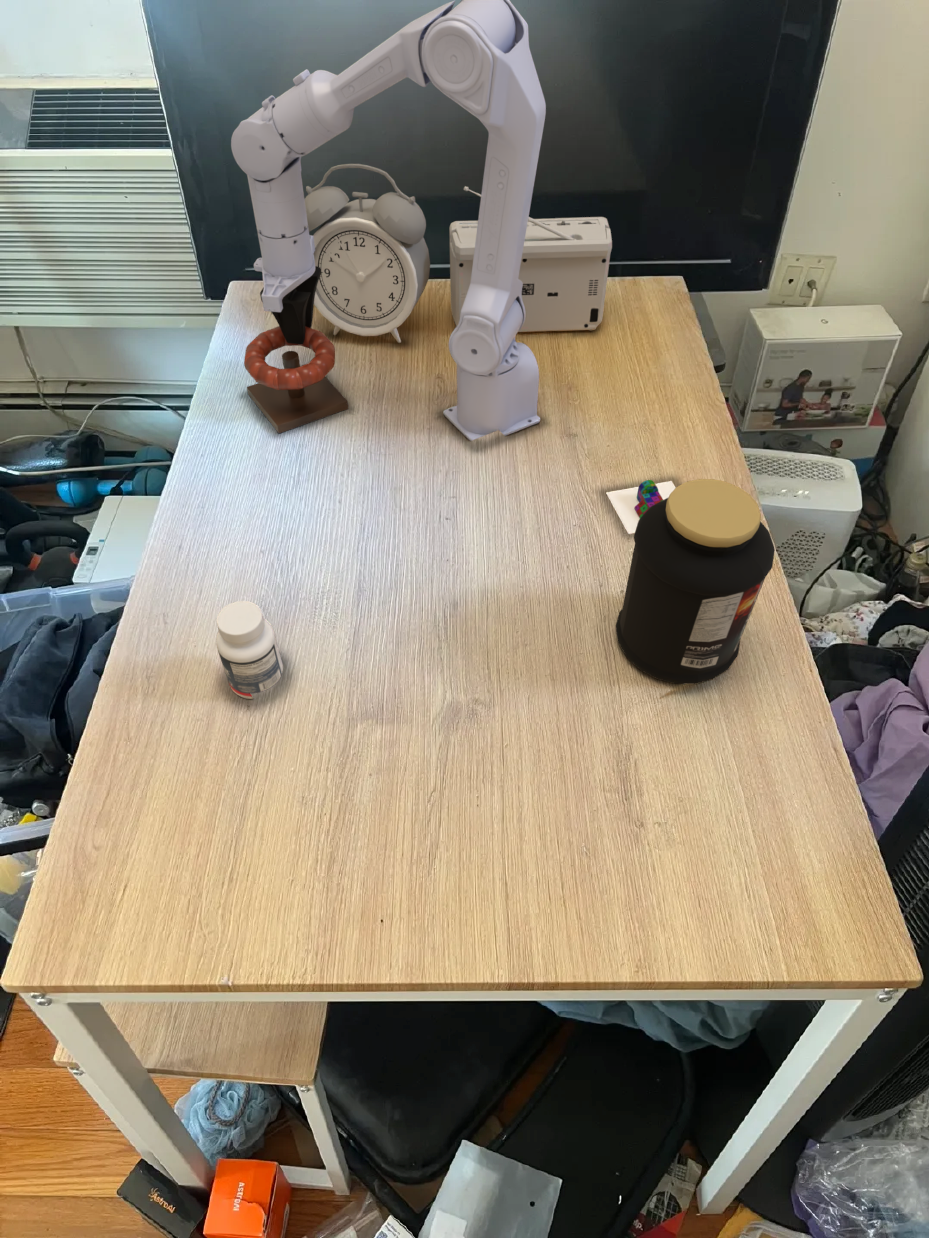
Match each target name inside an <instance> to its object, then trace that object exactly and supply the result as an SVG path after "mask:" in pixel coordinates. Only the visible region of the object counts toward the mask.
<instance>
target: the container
mask: <svg viewBox="0 0 929 1238" xmlns="http://www.w3.org/2000/svg"><path fill="white" fill-rule="evenodd" d="M675 487H676V488H675V489H674V490H673V491H672V493H671V494H670V495H669V497H668V498H666V499H664V500H662V501H661V502H659V503H657V504H655V505H653V506H651V507H650V508H649V509H648V510H647V511H646V512H645V513H644V515H643V516H642V517H641V518H640V519H639V521H638V524H637V527H636V531H635V533H633V540H634V547H633V552H632V557H631V562H630V567H629V572H628V578H627V583H626V588H625V593H624V598H623V604H622V609H620V611H619V613H618V616H617V618H616V624H615V632H616V638H617V643H618V645H619V647H620V649H621V650H622V652H623V653H624V655H625V657H626V659H627V660H628V661H629V662H631V664H632V665H634V666H635V667H636V668H637V669H638V670H639V671H641V672H642V673H644V674H647V675H648V676H651V677H652V678H654V679H656V680H657V681H658V680H659V681H663V682H667V683H670V684H675V685H697V684H701V683H705V682H709V681H713V680H714V679H716V678H718V677H719V676H721V675H723V674H724V673H725V672H727V671H728V670H730V668H731V666H732V665H733V664H734V662H735V661H736V659H737V658H738V656H739V651H740V646H741V640H742V637H743V634H744V632H745V630H746V627H747V624H748V623H749V619H750V617H751V614H752V612H753V609H754V607H755V604H756V602H757V600H758V597H759V595H760V592H761V589H762V587H763V584H764V582H765V580H766V577H768V575H769V574H770V572H771V571H772V569H773V566H774V557H775V544H774V542H773V539H772V536H771V533H770V531H769V530H768V528H767V527H766V526H765V525H764V524H763V522H762V513H761V511H760V508H759V505H758V502H757V501H756V500H755V499H754V498H753V497H752V495H751V494H750V493H748V492H747V491H745V490H744V489H742V488H741V487H740V486H737V485H735V484H732V483H730V482H728V481H725V480H721V479H714V478H697V479H693V480H688V481H685V482H683V483H681V484H679V485H678V486H675Z"/></svg>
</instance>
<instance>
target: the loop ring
mask: <svg viewBox="0 0 929 1238" xmlns="http://www.w3.org/2000/svg"><path fill="white" fill-rule="evenodd" d="M296 346H297V347H298V346H300V347H304V348H307V349H310V350H311V351H312V352H313V353H314V357H313V358H312V359H311V360H310V362H308V363H305V364H303V365H300V367H298V368H291V369H284V368H279V367H275V366H272V365H270V364H268V362H266V357H268V355H270V353H271V352H273V351H276V350H278V349H280V348H284V347H296ZM335 364H336V347H335V345H334V343H333V342H332V341H331V340H330V339H329V337H327V336H326V335H325V333H323V332H322V331H321V330H318V329H315V328H312V327H311V328H309V327H306V326H305V340H304V343H303V344H292V343H287V341H286V339H285V337H284V335H283V333H282V331H281V329H280V326H279V325H278V326H275V327H273V328H271V329H267V330H265V331H262V332H260V333H259V334H257V336H255V338H253V339H252V340H251V341H250V342H249V343H248V345H246V347H245V351H244V361H243V366H244V369H245V370H246V371H247V373H248V374H249V375H250V376H251V378H252V379H253V380H254V381H255V383H256V384H257V383H259V384H262V385H265V386H267V387H270V388H273V389H276V390H293V389H302V388H305V387H307V386H310V385H312V384H315V383H317V382H320V381H321V380H322V379H323V378H324V377H326V376H327V375H328V374H329V373H330V372H331V371H332V370H333V368H334V367H335Z"/></svg>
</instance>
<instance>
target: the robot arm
mask: <svg viewBox="0 0 929 1238" xmlns="http://www.w3.org/2000/svg"><path fill="white" fill-rule="evenodd" d="M455 3H456V0H452V1H450V2H447V3H444V4H442V5H441V6H438V7H437V8H435V9H433V10H431V11H429V12H427V13H424V14H423V15H422V16H420V17H417V18H415V19H414V20H412V21H410V22H408V23H407V24H406V25H404V26H403V27H402V28H401V29H399V30H397V32H395V33H394V34H392V35H391V36H389V37H388V38H387V39H385V40H384V41H382V42H381V43H380V44H378V45H377V46H376V47H374V48H373V49H372V50H370V51H369V52H367V53H366V54H364V55H363V56H362V57H360V58H359V59H358V60H357V61H355V62H354V63H353V64H351V65H350V66H348V67H347V68H346V69H344V70H342V71H341V72H340V73H338V74H335V73H333V72H330V71H328V70H324V69H317V70H315V71H313V72H312V73H310V71H309V69H305V70H303V71H302V72H300V73H299V74H297V75H296V76H294V77H293V79H292V82H293V83H294V86H292V87H290V88H289V89H287V90H286V91H285V92H283V93H282V94H280V95H279V96H277V97H275V95H269V96H268V97H267V98H265V99H264V100H263V101H262V102H261V106H262V107H261V108H259V109H258V110H256V112H254V113H253V114H251V115H250V116H248V117H247V118H246V119H244V120H241V121H240V122H239V124H238V126H237V127H236V128H235V129H234V131H233V132H232V135H231V138H230V139H231V140H230V148H231V153H232V156H233V158H234V161H235V162H236V164H237V166H238V167H239V168H240V169H241V170H242V172H244V173H245V174H246V176H247V182H248V188H249V194H250V198H251V204H252V209H253V216H254V221H255V226H256V232H257V238H258V243H259V248H260V254H261V257H257V259H256V260H255V262H254V263H253V270H254V271H255V272H261V273H262V284H263V287H262V288H261V290H260V292H259V296H260V300H261V303H262V307H263V311H264V312H269V313H271V314H272V315H273V317H274V319H275V321H276V322H277V325H278V326H280V329H281V331H282V333H283V335H284V337H285V339H286V341H287V343H292V344H303V343H304V340H305V326H306V327H309V328H312V326H313V318H314V307H315V305H314V298H315V292H316V287H317V284H318V281H319V278H320V275H321V269H320V268H319V267H317V266H315V261H314V255H313V253H314V252H315V245H314V237H313V235H314V234H313V235H312V234H310V232H309V229H308V222H307V214H306V207H305V192H304V186H303V179H302V178H303V177H302V171H303V170H302V164H301V163H302V161H301V160H302V158H303V157H304V156H307V155H309V154H310V153H311V152H313V151H315V150H316V149H318V148H319V147H321V146H323V145H324V144H326V143H327V142H330V141H331V140H332V139H334V138H336V137H337V136H338V135H340V134H342V133H344V132H345V131H347V130H348V129H350V127H351V126H352V123H353V118H354V111H355V108H357V107H358V106H360V105H361V104H364V103H365V102H366V101H368V100H370V99H372V98H373V97H375V96H377V95H379V94H380V93H382V92H383V91H386V90H387V89H389V88H391V87H392V86H394V85H396V84H397V83H399V82H401V81H403V80H404V79H409V80H410V81H412V82H414V83H416V84H417V85H419V86H420V87H423V88H426V87H427V86H428V85H429V84H432V85H433V86H434V87H435V88H436V89H437V90H438V91H440V92H441V93H442V94H443V95H444V96H446V97H447V98H449V99H450V100H452V101H453V102H454V103H456V104H457V105H459V106H460V107H461V108H462V109H464V110H465V111H467V112H468V113H470V114H471V115H472V116H474V117H475V118H477V119H478V120H479V121H480V123H481V124H482V125H483V126H484V127H485V129H486V131H487V132H488V138H487V145H486V154H485V160H484V161H485V162H484V170H483V176H482V178H483V179H482V186H481V193H480V194H481V197H480V202H479V210H478V219H477V221H478V226H477V234H476V242H475V250H474V258H473V266H472V274H471V282H470V286H469V289H468V292H467V295H466V298H465V300H464V303H463V306H462V309H461V314H460V321H459V324H458V325H457V327H456V326H455V328H454V329H453V331H452V332H451V333H450V334H449V338H448V351H449V354H450V356H451V358H452V360H453V361H454V363H455V364H456V405H454V406H451V407H449V408H445V409H444V410H443V413H442V414H443V416H444V417H445V418H446V419H447V421H449V422H450V423H451V424H452V425H454V427H455V428H456V429H457V430H459V433H461V434H462V435H463V436H464V437H465V438H467V440H468V441H469V442H472V441H475V440H477V439H480V438H482V437H485V436H487V435H490V434H492V433H494V432H500V433H501V434H502V435H503V437H507V436H509V435H511V434H513V433H516V432H519V431H521V430H524V429H526V428H529V427H531V426H534V425H536V424H539V423H540V422H541V417H540V416H539V415H538V403H539V401H538V399H539V386H540V369H539V364H538V361H537V358H536V355H535V354H534V353H533V350H532V349H531V348H530V347H529V345H527V344H525V343H524V342H520V341H519V342H517V340H516V336H517V334H518V333H519V332H518V331H519V330H520V329H521V327H522V326H523V324H524V322H525V317H526V311H525V307H524V304H523V301H522V286H523V283H522V281H521V280H519V279H518V277H519V271H520V265H521V259H522V253H523V247H524V241H525V235H526V229H527V223H528V217H530V216H529V215H530V210H531V204H532V198H533V193H534V187H535V181H536V174H537V168H538V162H539V156H540V150H541V145H542V140H543V132H544V127H545V122H546V120H545V119H546V115H547V109H546V108H547V104H546V99H545V95H544V92H543V89H542V86H541V83H540V80H539V75H538V72H537V70H536V65H535V62H534V59H533V56H532V52H531V49H530V42H529V41H530V39H529V36H530V35H529V25H528V23H527V21H526V20H525V19H524V17H523V16H522V14H521V13H520V12H519V11H518V9H517V8H516V7H515V5H514V4H513V3H512V2H511V0H460V1H459V3H458V4H457V5H456V6H455V7H454V5H455ZM453 7H454V8H453Z"/></svg>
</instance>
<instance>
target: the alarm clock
mask: <svg viewBox="0 0 929 1238" xmlns="http://www.w3.org/2000/svg"><path fill="white" fill-rule="evenodd" d="M342 169H362V170H367V171H371V172H374V173H376V174H377V173H378V174H380V175H381V176H384V177H385V178H386V179H387V181H389V182H390V184H391V186H392V187H393V189H394V191H395V192H393V191H390V192H386V193H383V194H381V196H379V197H378V198H377V199H373V198H369V193H368V192H358V191H352V193H351V196H352V197H353V198H358V199H354V200H352V201H350V197H349V196H348V195H347V194H346V192H345V191H343V189H341V188H339V187H337V186H333V185H332V186H329V185H327V186H323V185H324V184H325V183H326V181H327V179H328V177H329V176H330V175H331V173H332V172H334V171H338V170H342ZM305 191H306V193H307V195H306V196H305V197H304V199H305V207H306V214H307V222H308V229H309V233H310V232H312V231H313V230H315V229H317V230H316V231H315V232H314V233H313V237H314V245H315V252H314V253H313V255H314V261H315V266H317V267H319V268H320V269H321V275H320V278H319V281H318V284H317V287H316V292H315V298H314V307H315V309H317V310H318V312H319V313H320V314H321V316H323V317H324V318H325V319H326V320H327V321H329V323H331V324H332V325H333V326H334V329H333V332H332V333H333V335H334V336H336V335H338V333H339V332H340V330H343V331H345V332H347V333H349V334H353V335H357V336H360V337H378V336H382V335H385V334H389V333H390V334H391V336H392V337H393V338H394V339H395V340H396V342H397V343H398V344H400V343H402V340H401V337H400V334H399V331H398V328H399V327H400V326H402V325H403V324H404V323H405V322H406V320H407V318H408V317H409V316H410V315H411V314H412V311H414V308H415V307H416V305H417V303H418V302H419V300H420V298H421V296H422V295H423V293H424V291H425V288H426V286H427V284H428V282H429V278H430V270H431V260H430V253H429V252H430V251H429V248H428V245H427V243H426V240H425V238H424V236H425V233H426V229H427V219H426V217H425V214H424V212H423V210H422V208H421V207H420V205H419V204H418V203H417V202H416V197H415V195H414V196H409V195H406V194H405V193H403V192H402V191H401V190H400V189H399V187H398V186H397V184H396V182H395V180H394V178H392V176H391V175H390V174H389V173H388V172H387V171H385V170H383V169H381V168H378V167H374V166H372V165H367V164H361V163H344V164H338V165H335V166H331V167H330V168H329V169H328V171H327V172H325V174H324V175H323V178H322V180H321V181H320V182H319V184H317V185H315V186H313V188H312V187H311V186H310V185H307V186H305Z"/></svg>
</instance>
